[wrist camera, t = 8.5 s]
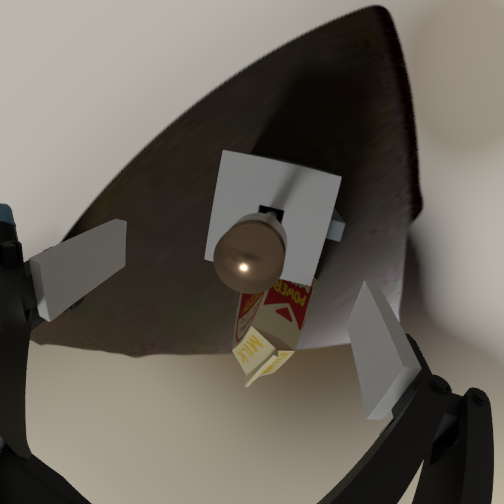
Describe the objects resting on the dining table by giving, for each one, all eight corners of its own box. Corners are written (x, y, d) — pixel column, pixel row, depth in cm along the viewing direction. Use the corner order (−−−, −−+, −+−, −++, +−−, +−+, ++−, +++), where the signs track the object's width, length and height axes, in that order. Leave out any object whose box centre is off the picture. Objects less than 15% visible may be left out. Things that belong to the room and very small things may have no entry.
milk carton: (269, 245, 42) (244, 317, 23) (319, 278, 42) (328, 365, 23) (239, 289, 45) (200, 373, 26) (286, 318, 45) (273, 411, 27)
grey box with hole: (235, 225, 42) (204, 259, 28) (250, 153, 38) (223, 150, 24) (320, 246, 40) (329, 290, 27) (339, 174, 37) (362, 183, 23)
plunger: (245, 220, 40) (174, 303, 17) (256, 164, 37) (189, 174, 14) (301, 234, 39) (298, 337, 17) (315, 178, 36) (340, 208, 14)
